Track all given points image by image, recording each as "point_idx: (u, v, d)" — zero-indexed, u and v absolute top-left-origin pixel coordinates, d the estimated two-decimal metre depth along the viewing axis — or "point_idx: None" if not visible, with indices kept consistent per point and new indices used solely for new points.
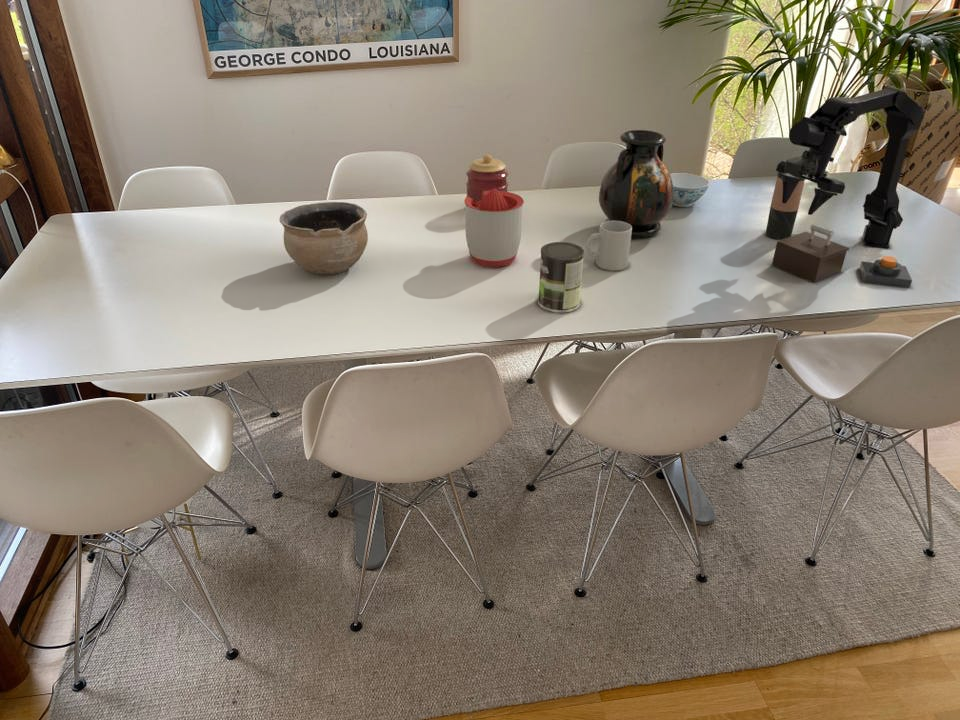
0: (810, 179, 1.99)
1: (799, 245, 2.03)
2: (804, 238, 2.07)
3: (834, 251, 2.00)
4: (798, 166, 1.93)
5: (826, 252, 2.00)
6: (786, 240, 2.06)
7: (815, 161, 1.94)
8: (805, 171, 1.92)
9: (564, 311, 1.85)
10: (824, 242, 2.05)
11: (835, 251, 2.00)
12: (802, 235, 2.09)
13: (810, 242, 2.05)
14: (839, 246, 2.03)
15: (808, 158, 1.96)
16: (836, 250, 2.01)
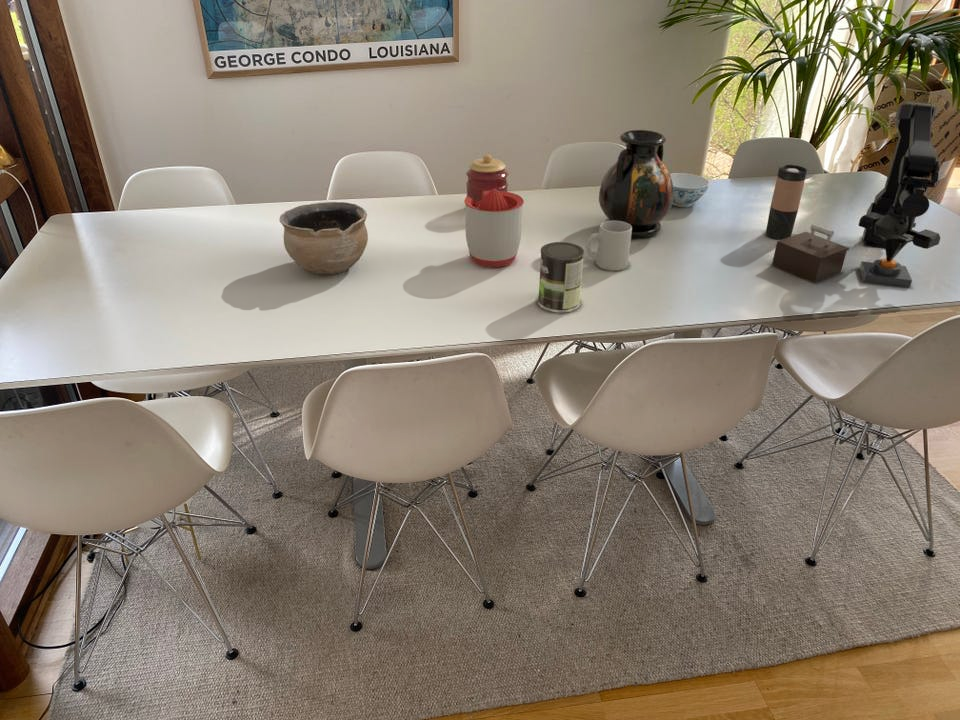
0: None
1: (799, 245, 2.03)
2: (804, 238, 2.07)
3: (834, 251, 2.00)
4: (891, 230, 1.89)
5: (826, 252, 2.00)
6: (786, 240, 2.06)
7: (905, 218, 1.91)
8: (899, 234, 1.89)
9: (564, 311, 1.85)
10: (824, 242, 2.05)
11: (835, 251, 2.00)
12: (802, 235, 2.09)
13: (810, 242, 2.05)
14: (839, 246, 2.03)
15: (896, 216, 1.92)
16: (836, 250, 2.01)
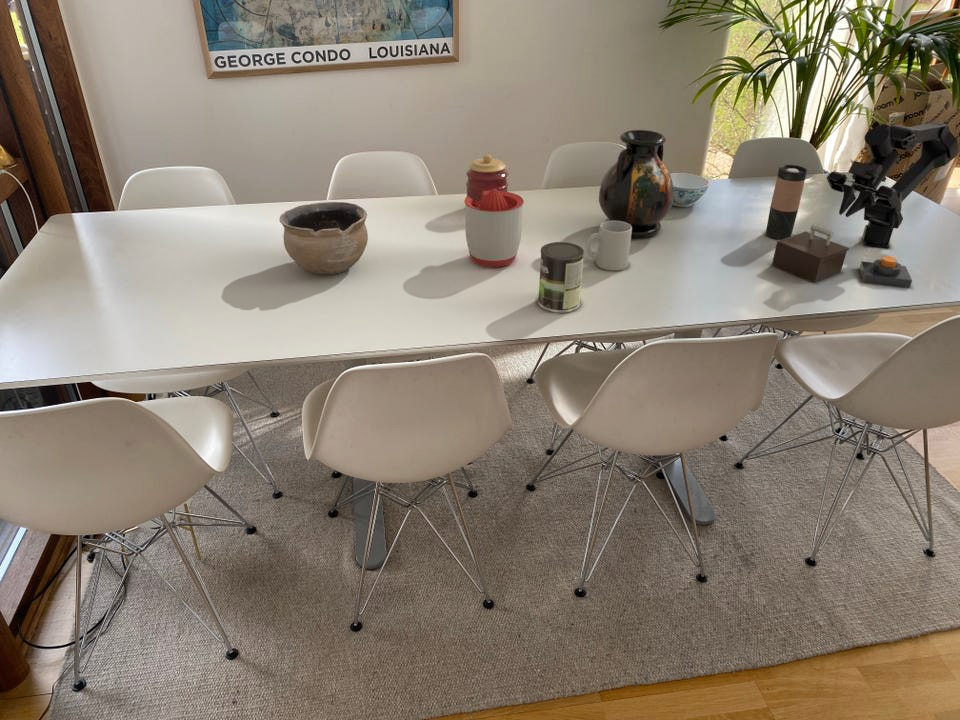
0: (863, 190, 2.05)
1: (799, 245, 2.03)
2: (804, 238, 2.07)
3: (834, 251, 2.00)
4: (868, 166, 1.99)
5: (826, 252, 2.00)
6: (786, 240, 2.06)
7: None
8: (874, 172, 1.98)
9: (564, 311, 1.85)
10: (824, 242, 2.05)
11: (835, 251, 2.00)
12: (802, 235, 2.09)
13: (810, 242, 2.05)
14: (839, 246, 2.03)
15: None
16: (836, 250, 2.01)
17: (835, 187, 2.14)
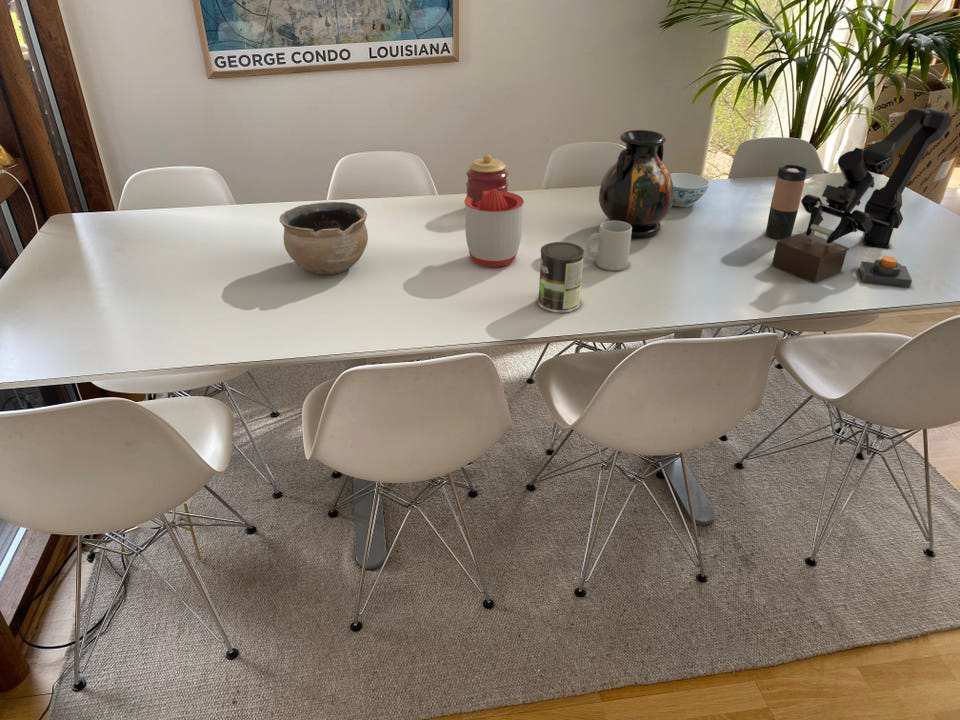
0: (837, 214, 2.03)
1: (799, 245, 2.03)
2: (804, 238, 2.07)
3: (834, 251, 2.00)
4: (841, 190, 1.96)
5: (826, 252, 2.00)
6: (786, 240, 2.06)
7: None
8: (847, 196, 1.96)
9: (564, 311, 1.85)
10: (824, 242, 2.05)
11: (835, 251, 2.00)
12: (802, 235, 2.09)
13: (810, 242, 2.05)
14: (839, 246, 2.03)
15: None
16: (836, 250, 2.01)
17: (810, 210, 2.11)
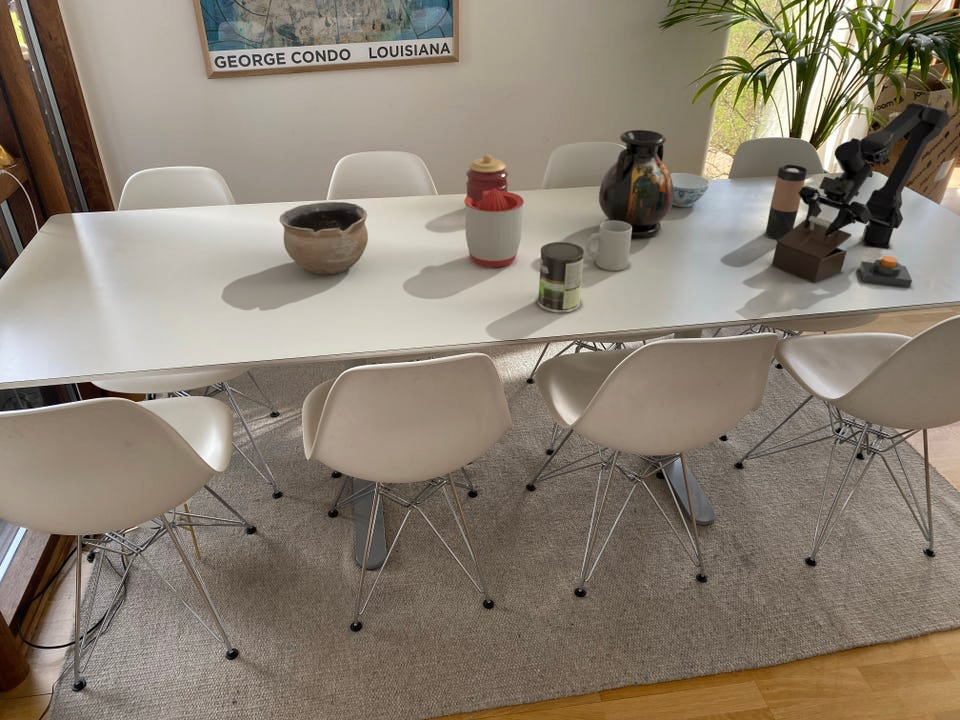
0: (835, 205, 2.01)
1: (799, 242, 2.03)
2: (805, 230, 2.06)
3: (835, 243, 1.99)
4: (838, 182, 1.94)
5: (826, 247, 1.99)
6: (786, 237, 2.06)
7: None
8: (844, 188, 1.93)
9: (564, 311, 1.85)
10: None
11: (836, 243, 1.99)
12: (803, 225, 2.07)
13: (811, 235, 2.04)
14: (841, 234, 2.01)
15: None
16: (837, 241, 1.99)
17: (808, 201, 2.09)
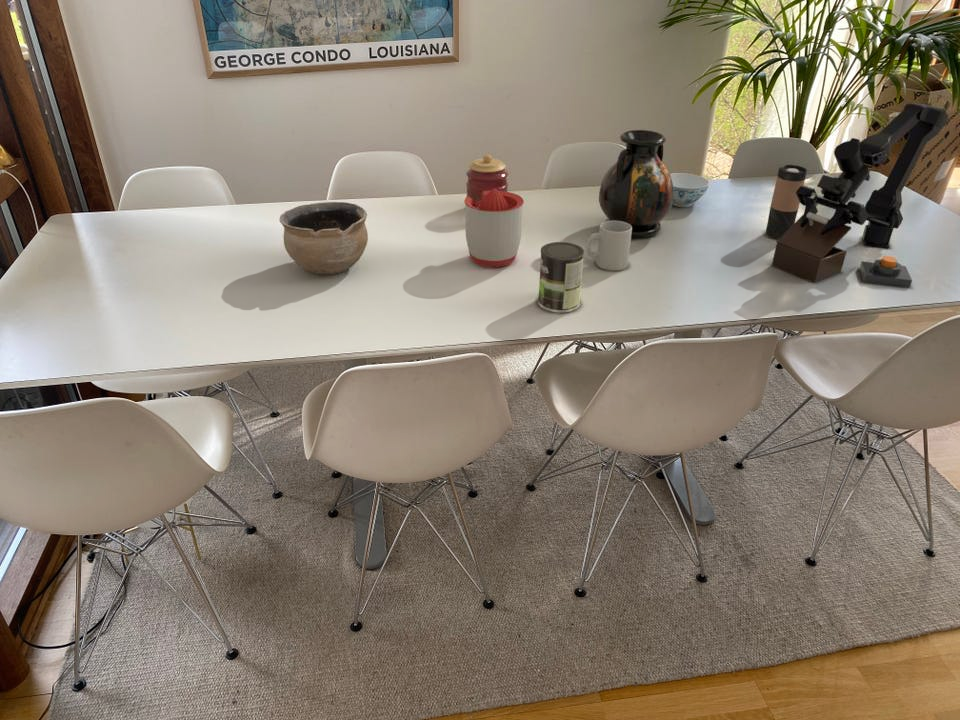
0: (832, 205, 2.00)
1: (799, 241, 2.02)
2: (804, 226, 2.05)
3: (835, 240, 1.98)
4: (837, 180, 1.93)
5: (826, 245, 1.98)
6: (786, 236, 2.05)
7: None
8: (843, 187, 1.93)
9: (564, 311, 1.85)
10: None
11: (836, 239, 1.98)
12: None
13: (810, 231, 2.03)
14: (840, 228, 1.99)
15: None
16: (837, 237, 1.98)
17: (804, 202, 2.08)
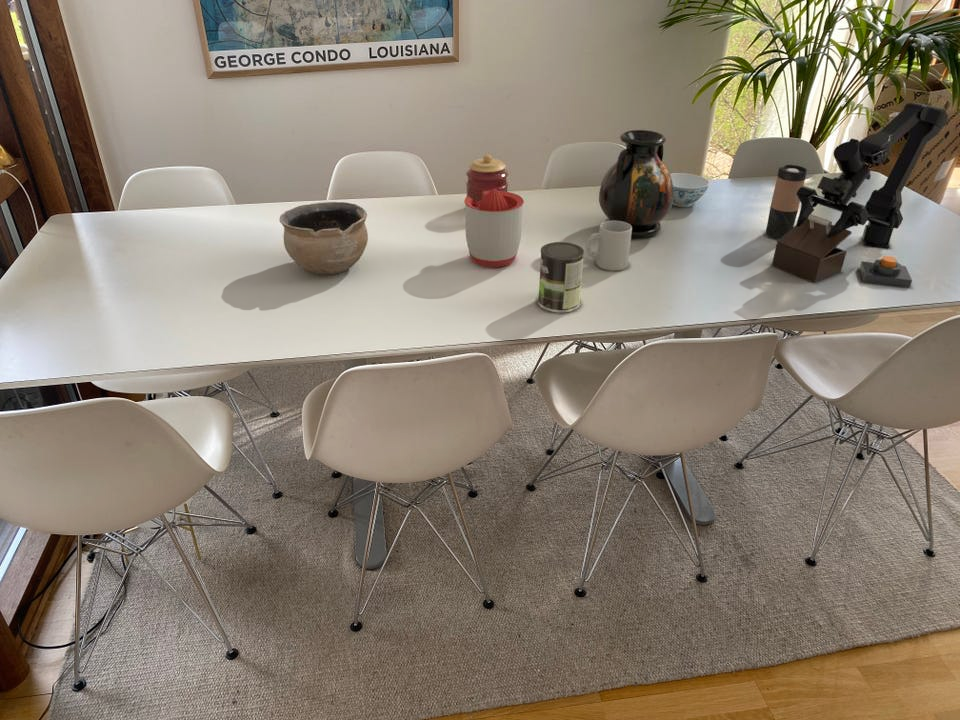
0: (833, 206, 2.00)
1: (799, 242, 2.03)
2: (805, 228, 2.06)
3: (835, 242, 1.99)
4: (837, 182, 1.94)
5: (826, 246, 1.98)
6: (786, 237, 2.06)
7: None
8: (843, 188, 1.93)
9: (564, 311, 1.85)
10: (825, 230, 2.03)
11: (836, 242, 1.98)
12: (803, 223, 2.07)
13: (811, 233, 2.04)
14: (841, 232, 2.00)
15: None
16: (837, 240, 1.99)
17: None
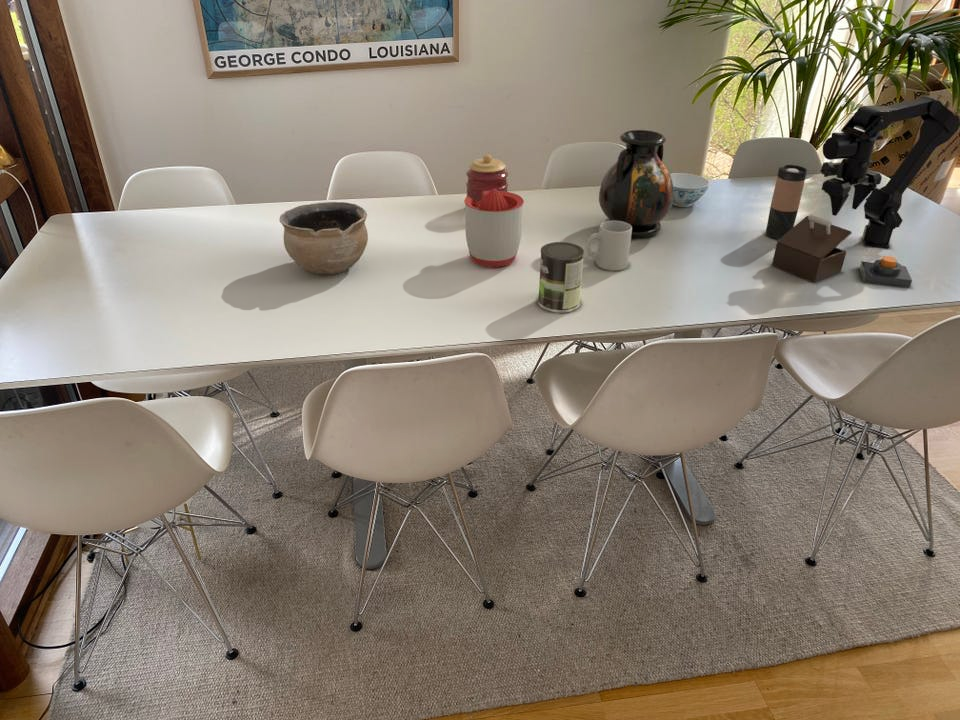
0: None
1: (799, 242, 2.03)
2: (805, 228, 2.06)
3: (835, 242, 1.99)
4: None
5: (826, 246, 1.98)
6: (786, 237, 2.06)
7: (841, 164, 2.08)
8: None
9: (564, 311, 1.85)
10: (825, 230, 2.03)
11: (836, 242, 1.98)
12: (803, 223, 2.07)
13: (811, 233, 2.04)
14: (841, 232, 2.00)
15: None
16: (837, 240, 1.99)
17: None
